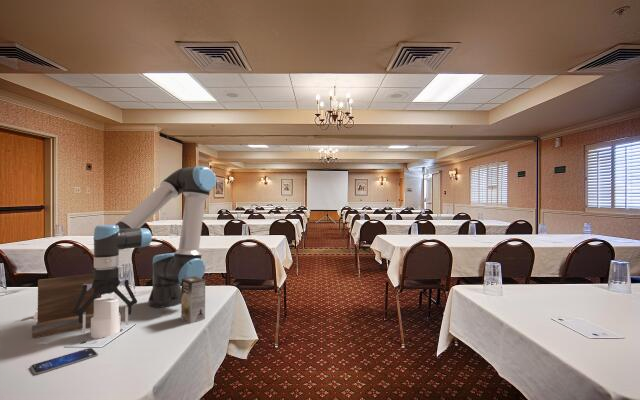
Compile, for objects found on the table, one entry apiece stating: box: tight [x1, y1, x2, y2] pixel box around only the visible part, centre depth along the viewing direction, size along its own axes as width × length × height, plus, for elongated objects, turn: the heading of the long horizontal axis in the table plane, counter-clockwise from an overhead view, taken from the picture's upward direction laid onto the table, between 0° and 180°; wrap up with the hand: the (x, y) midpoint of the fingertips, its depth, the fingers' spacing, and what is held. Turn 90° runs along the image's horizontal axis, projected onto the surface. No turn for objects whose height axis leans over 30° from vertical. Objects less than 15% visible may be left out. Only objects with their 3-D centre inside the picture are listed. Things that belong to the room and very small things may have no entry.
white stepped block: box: [90, 297, 122, 339], centre depth 115 cm, size 9×9×12 cm
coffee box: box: [180, 276, 206, 324], centre depth 129 cm, size 9×6×16 cm
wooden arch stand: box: [31, 273, 102, 339], centre depth 122 cm, size 14×20×18 cm
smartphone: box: [29, 347, 99, 376], centre depth 94 cm, size 7×1×15 cm
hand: (106, 327), depth 115 cm, fingers open, 12 cm apart
